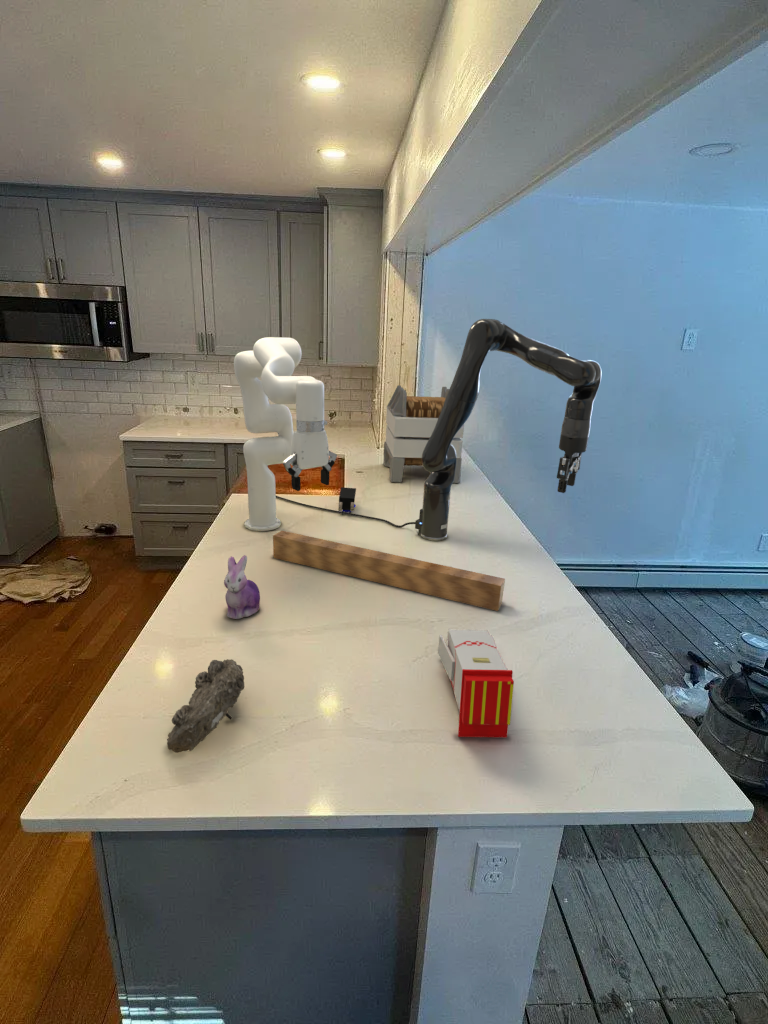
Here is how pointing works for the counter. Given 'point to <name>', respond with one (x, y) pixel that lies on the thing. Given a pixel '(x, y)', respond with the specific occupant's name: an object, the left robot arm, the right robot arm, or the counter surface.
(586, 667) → the counter surface
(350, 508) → the figurine character
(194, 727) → the fossil
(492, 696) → the toy
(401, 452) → the grey storage crate
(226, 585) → the figurine
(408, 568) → the post
